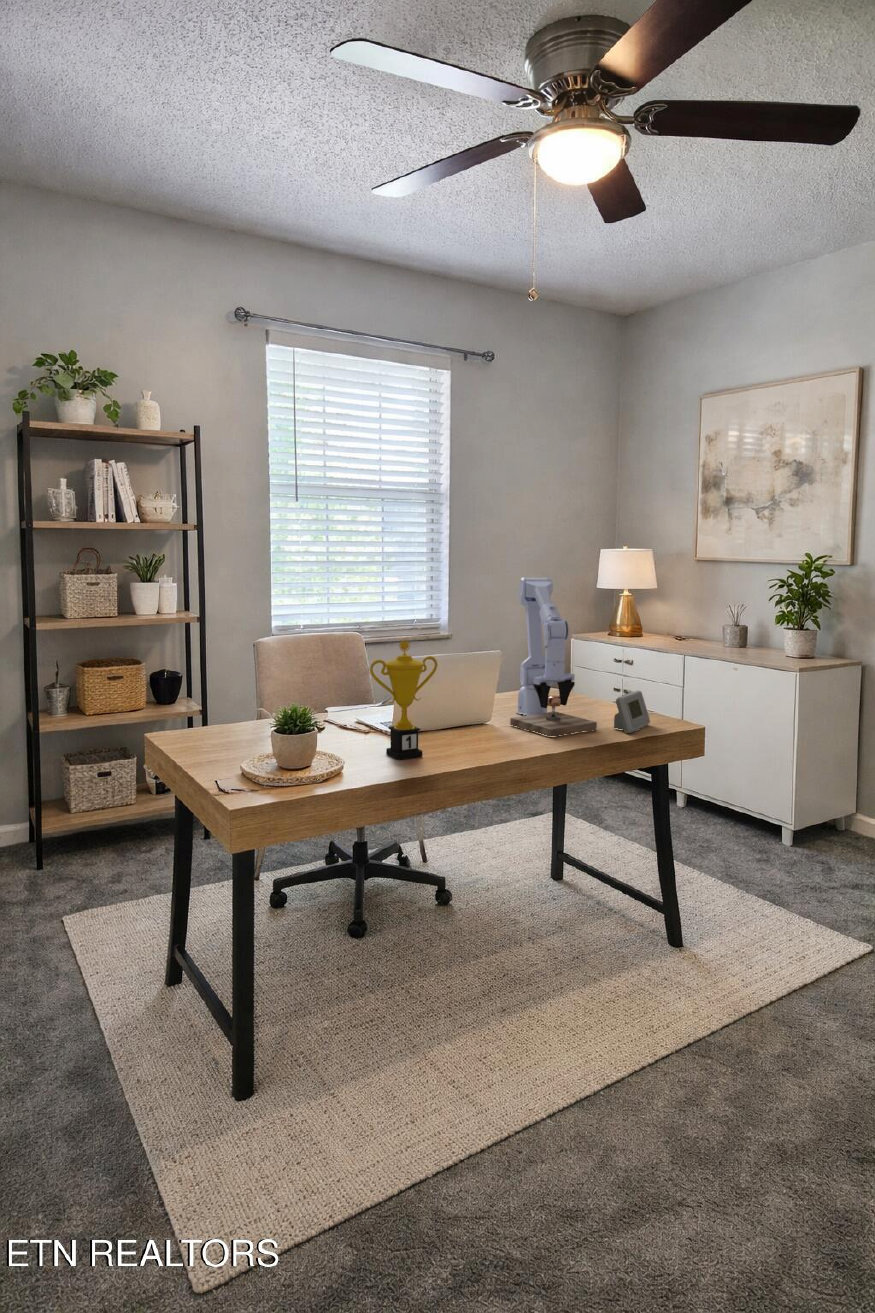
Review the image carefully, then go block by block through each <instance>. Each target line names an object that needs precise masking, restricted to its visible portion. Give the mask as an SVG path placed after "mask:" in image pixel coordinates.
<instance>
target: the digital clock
mask: <svg viewBox="0 0 875 1313" xmlns="http://www.w3.org/2000/svg"><path fill="white" fill-rule="evenodd" d="M615 704H616V708H617V710H618V712H617V713H615V714H614V718H613V729H614V728H618V729H623V730H624V731H623V732H625V733H626V732H627V733H626V734H632V733H635V732H634V731H636V730H638V729H640V728H642V727H644V726H645V727H646V725H647V726H648V725H649V724H651V719H650V715H649V712H648V709H647V705H646V703H645V699H644V696H643V693H642V691H641V690H639V689H638V690H634V691H630V692H627V693H624V694H621V696H619V697H616V699H615ZM645 727H644V728H645ZM642 729H643V728H642ZM640 730H641V729H640ZM638 731H639V730H638ZM636 732H637V731H636Z"/></svg>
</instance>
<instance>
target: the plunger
mask: <svg viewBox="0 0 875 1313" xmlns="http://www.w3.org/2000/svg"><path fill="white" fill-rule="evenodd" d="M560 701H561V697H560V696H559V695H549V696H548V706H547V707H551V712H552V717H555V712H556V707H561V705H560Z"/></svg>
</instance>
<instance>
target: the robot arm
mask: <svg viewBox="0 0 875 1313" xmlns="http://www.w3.org/2000/svg"><path fill="white" fill-rule="evenodd" d="M518 583H519V584H518V596H519V597H518V600H519V604H520V605H521V606H523V607H524V611H525V618H526V619H525V620H526V622H525V623H526V637H527V651H528V652H527V653H528V657H527V658H526V659H524V660H523V661H522V662H521V663H520V667H519V669H520V670H519V680H520V681H519V683H520V684H521V686H522V687H520V689H519V691H518V694H517V711H515V714H518V713H522V714H525V715H534V714H541V713H548V707H549V706H548V696H550V691H551V688H552V685H553V684H554V683H557V685H558V692H559V695H558V696H560V697H561V701H560V706H567V703H568V700H569V696H570V694H571V692H572V690H573V688H574V687H575V684H576V682H575V675H576V674H574V673H571V672H570V673H565V660H566V640H567V639H568V638H569V622H568V621H567V620H566V619H564V618H562V616H561V613H560V612H559V611H560V610H559V609H558V607H557V605H555V604H553V601H552V598H551V596H552V594H553V591H554V590H553V589H554V588H553V587H554V582H553V580H552V578H551V577H549V576H548V577H521V578H520V579H519V582H518ZM542 625H543V627H542ZM542 628H543V629H542ZM543 643H544V644H543ZM543 646H545V647H543ZM544 648H545V651H544ZM544 654H545V655H544ZM525 715H524V716H525Z"/></svg>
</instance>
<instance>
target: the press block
mask: <svg viewBox="0 0 875 1313" xmlns="http://www.w3.org/2000/svg"><path fill="white" fill-rule="evenodd" d="M509 718H510V722H509V723H510V724H509V726H510V725H513V726H517V727H519V728H522V729H526V730H529V731H535V732H538V733H541V734H544V735H547V736H559V735H564V734H571V733H575V732H582V731H590V732H593V731H592V730H596V731H597V723H598V722H597V721H593V720H590V719H586V718H582V717H578V716H574V715H570V714H566V713H562V712H559V711H555V717H552V711H550V712H548V711H547V713H541V714H534V715H527V716H525V715H521V716H513V717H509ZM519 728H518V729H519ZM522 729H521V730H522ZM529 731H528V732H529Z"/></svg>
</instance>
